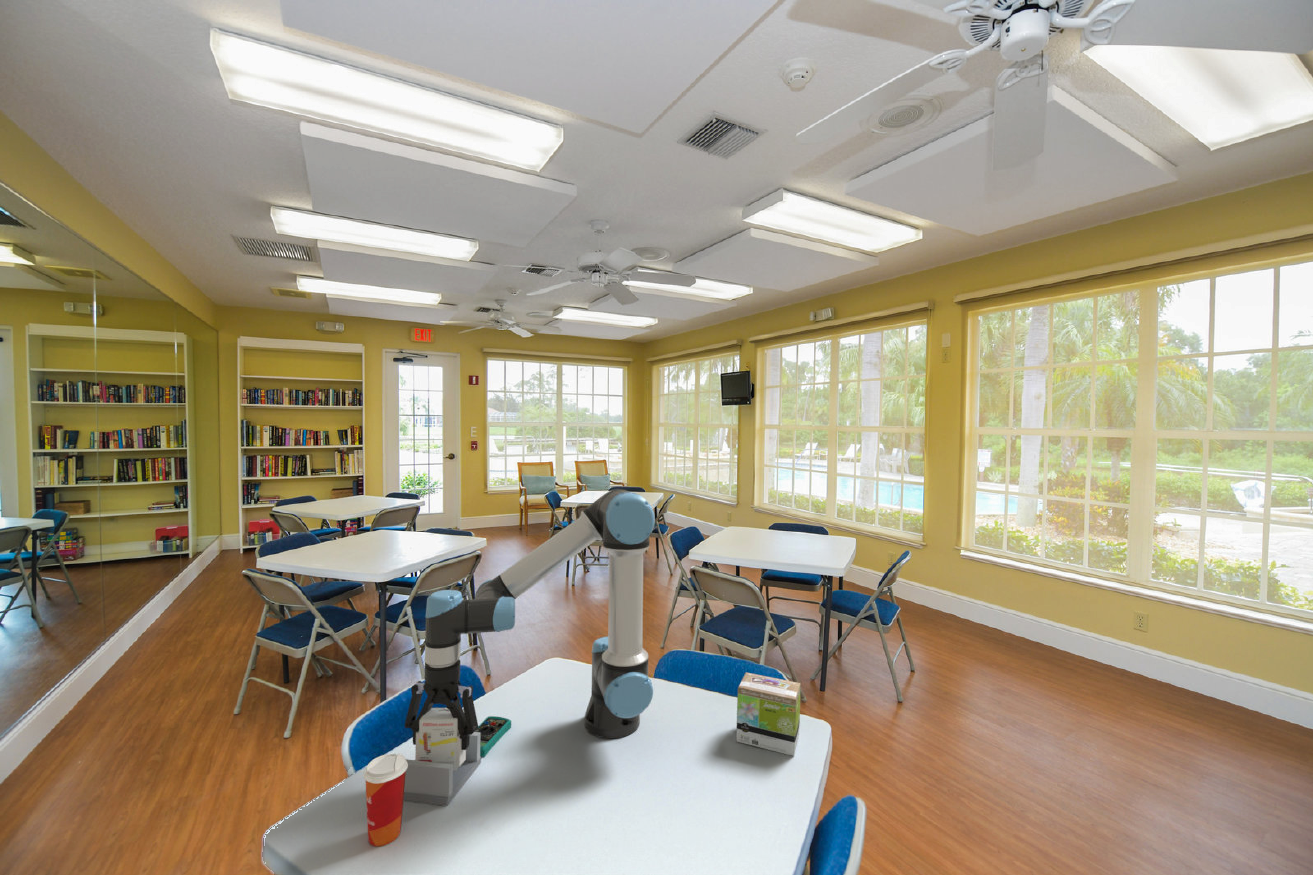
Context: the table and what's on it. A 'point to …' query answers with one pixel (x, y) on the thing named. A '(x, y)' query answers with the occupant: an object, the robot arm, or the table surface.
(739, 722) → the tea box
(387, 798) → the paper cup
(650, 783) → the table surface
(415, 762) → the dock
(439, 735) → the ink box
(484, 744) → the digital multimeter
